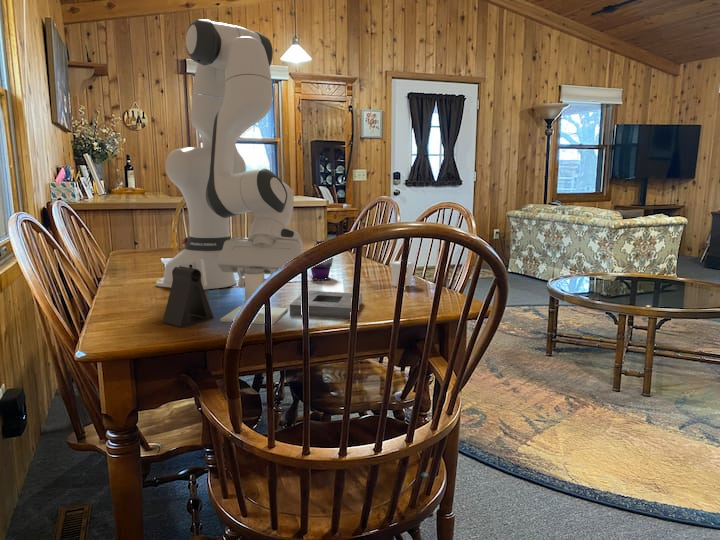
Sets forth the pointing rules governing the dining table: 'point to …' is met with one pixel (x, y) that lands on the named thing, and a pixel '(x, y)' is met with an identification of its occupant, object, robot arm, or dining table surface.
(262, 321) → the mat
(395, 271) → the shot glass
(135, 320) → the dining table surface
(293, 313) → the block
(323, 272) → the potion bottle
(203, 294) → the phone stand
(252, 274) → the end cover
